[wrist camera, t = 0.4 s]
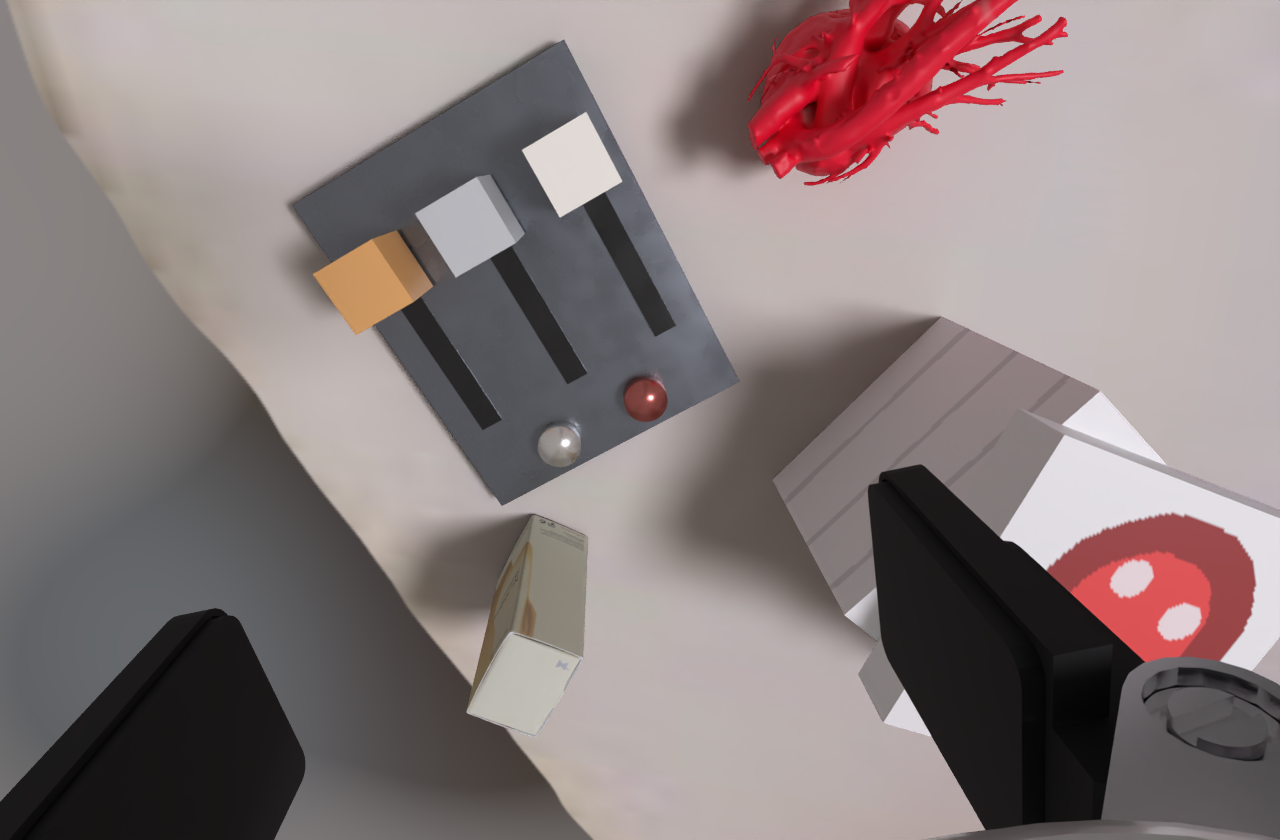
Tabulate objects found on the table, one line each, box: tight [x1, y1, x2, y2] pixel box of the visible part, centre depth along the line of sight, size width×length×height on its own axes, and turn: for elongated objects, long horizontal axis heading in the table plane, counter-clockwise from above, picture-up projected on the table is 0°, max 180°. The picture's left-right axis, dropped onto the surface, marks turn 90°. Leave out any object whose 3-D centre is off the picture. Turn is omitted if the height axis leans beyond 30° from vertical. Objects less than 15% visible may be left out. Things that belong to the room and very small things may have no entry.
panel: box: [292, 40, 739, 506], centre depth 41 cm, size 21×17×2 cm
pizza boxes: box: [772, 316, 1280, 737], centre depth 40 cm, size 19×30×18 cm, turn 48°
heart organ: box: [748, 0, 1068, 185], centre depth 33 cm, size 10×12×12 cm
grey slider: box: [415, 175, 525, 277], centre depth 36 cm, size 4×4×4 cm
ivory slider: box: [522, 112, 623, 217], centre depth 36 cm, size 4×4×4 cm
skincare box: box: [467, 515, 588, 737], centre depth 43 cm, size 6×4×12 cm
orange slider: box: [313, 230, 433, 335], centre depth 37 cm, size 4×4×4 cm
